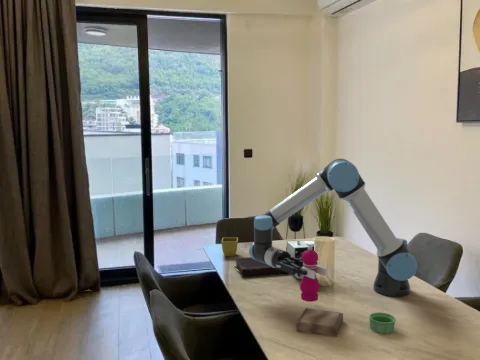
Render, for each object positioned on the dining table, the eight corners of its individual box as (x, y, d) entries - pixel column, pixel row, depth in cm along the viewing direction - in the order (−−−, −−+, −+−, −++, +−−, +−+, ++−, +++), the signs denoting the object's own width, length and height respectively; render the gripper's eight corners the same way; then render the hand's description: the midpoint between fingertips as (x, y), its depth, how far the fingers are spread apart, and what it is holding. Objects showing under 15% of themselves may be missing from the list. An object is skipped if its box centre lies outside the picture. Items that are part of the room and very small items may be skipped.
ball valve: (314, 282, 214) (314, 244, 211) (296, 283, 212) (296, 245, 210) (301, 270, 231) (302, 235, 229) (285, 271, 230) (285, 236, 227)
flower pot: (237, 257, 254) (237, 241, 253) (221, 257, 255) (221, 241, 254) (237, 253, 263) (237, 237, 262) (222, 253, 263) (222, 237, 262)
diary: (292, 275, 227) (292, 265, 226) (242, 279, 221) (242, 269, 220) (280, 263, 244) (280, 254, 244) (233, 267, 239) (233, 257, 238)
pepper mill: (314, 303, 168) (315, 249, 166) (296, 299, 172) (296, 247, 170) (322, 297, 174) (323, 245, 172) (304, 293, 178) (305, 242, 176)
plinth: (342, 320, 172) (343, 312, 172) (336, 337, 159) (336, 328, 159) (305, 315, 177) (305, 307, 177) (296, 330, 164) (296, 322, 164)
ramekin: (380, 336, 159) (381, 324, 159) (363, 326, 167) (363, 314, 167) (400, 331, 163) (401, 319, 163) (382, 322, 171) (383, 310, 171)
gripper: (295, 263, 192) (337, 278, 173) (260, 272, 182) (301, 289, 163) (295, 246, 191) (337, 259, 172) (260, 253, 181) (301, 268, 162)
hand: (320, 273), depth 168 cm, fingers closed on pepper mill, 5 cm apart
